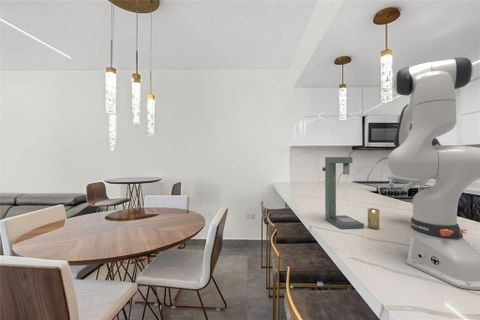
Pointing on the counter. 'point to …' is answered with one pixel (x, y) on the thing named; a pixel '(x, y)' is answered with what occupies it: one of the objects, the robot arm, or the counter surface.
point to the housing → (373, 218)
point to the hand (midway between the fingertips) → (396, 187)
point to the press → (330, 193)
